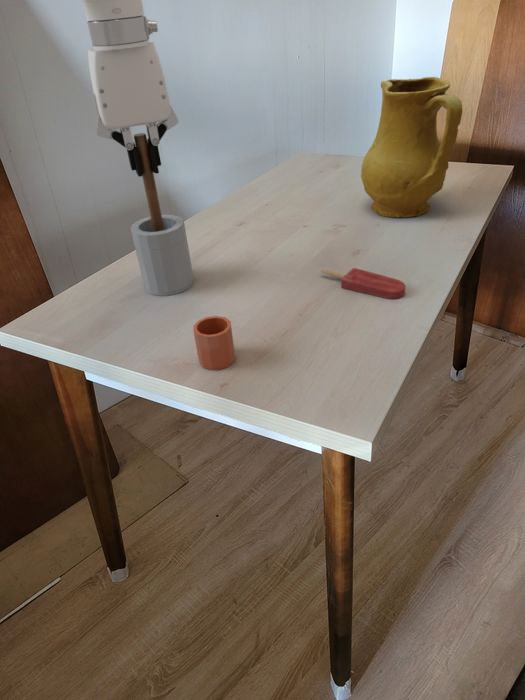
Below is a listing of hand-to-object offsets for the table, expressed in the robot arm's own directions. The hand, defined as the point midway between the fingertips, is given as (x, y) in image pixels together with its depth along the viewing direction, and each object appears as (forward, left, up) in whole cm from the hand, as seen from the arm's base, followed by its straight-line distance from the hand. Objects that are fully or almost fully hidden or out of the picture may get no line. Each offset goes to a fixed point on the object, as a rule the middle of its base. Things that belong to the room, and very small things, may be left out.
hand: (147, 171), depth 81 cm
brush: (0, 0, -15) cm, 15 cm away
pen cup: (+19, -17, -20) cm, 32 cm away
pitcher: (+31, +44, -20) cm, 57 cm away
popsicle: (+32, +9, -20) cm, 39 cm away
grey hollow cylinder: (0, 0, -20) cm, 20 cm away
